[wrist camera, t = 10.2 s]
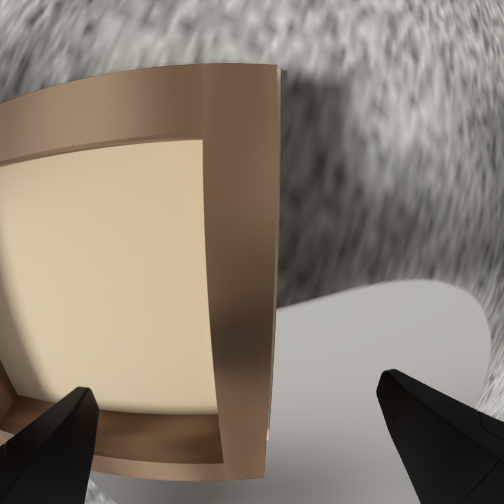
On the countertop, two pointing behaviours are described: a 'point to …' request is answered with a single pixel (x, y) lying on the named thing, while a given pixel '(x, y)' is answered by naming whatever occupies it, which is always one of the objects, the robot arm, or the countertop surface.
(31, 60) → the countertop surface
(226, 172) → the walnut frame
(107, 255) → the cork mat
